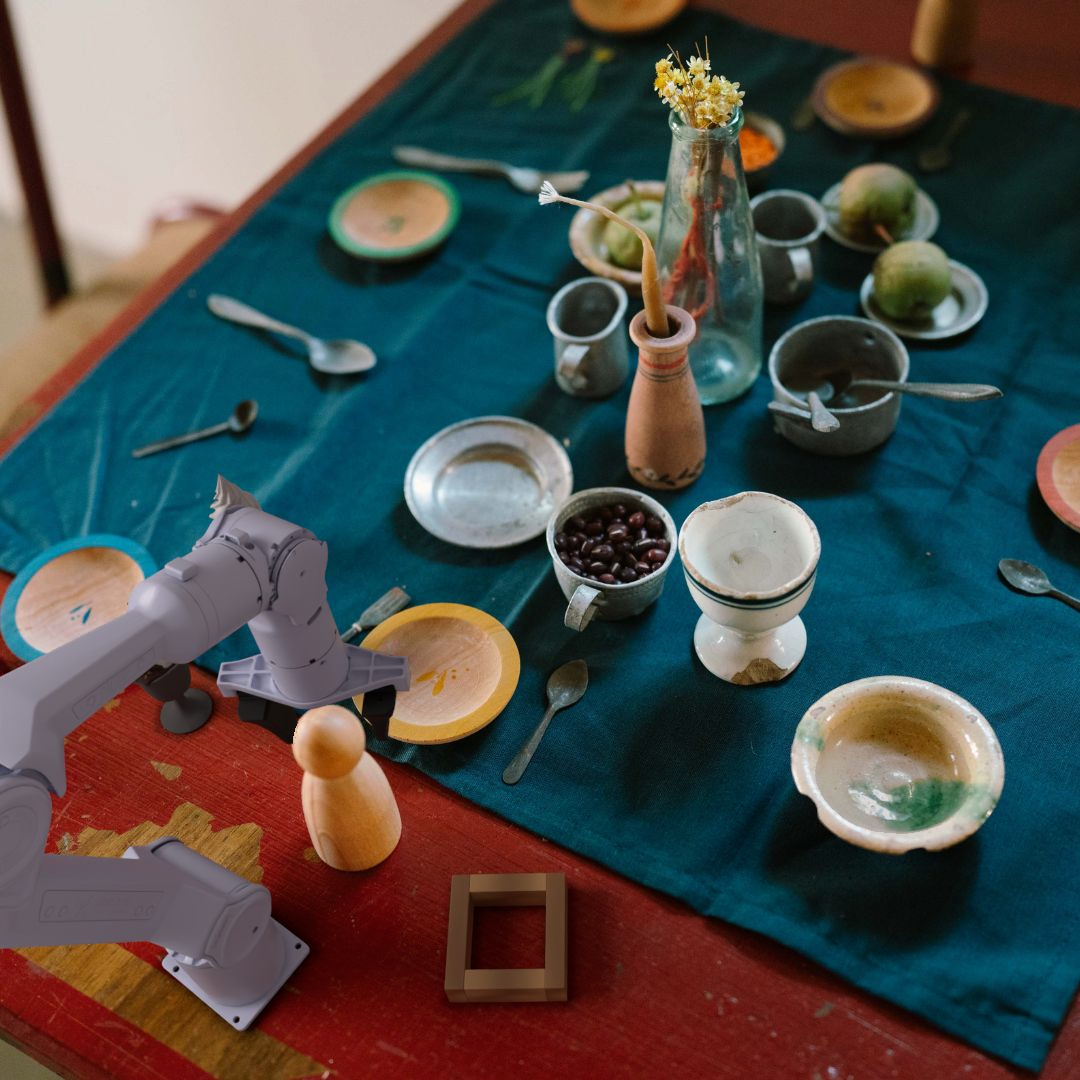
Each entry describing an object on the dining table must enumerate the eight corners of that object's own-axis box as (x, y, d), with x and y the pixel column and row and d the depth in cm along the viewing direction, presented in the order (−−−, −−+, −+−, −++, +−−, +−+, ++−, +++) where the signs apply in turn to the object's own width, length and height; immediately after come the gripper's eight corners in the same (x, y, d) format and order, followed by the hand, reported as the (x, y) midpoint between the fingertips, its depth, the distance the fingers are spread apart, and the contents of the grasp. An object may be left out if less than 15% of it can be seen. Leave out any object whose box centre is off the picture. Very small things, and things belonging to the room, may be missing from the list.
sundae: (190, 669, 114) (137, 575, 102) (235, 705, 110) (185, 611, 99) (137, 717, 111) (75, 624, 99) (181, 754, 108) (123, 663, 96)
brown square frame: (449, 1002, 91) (444, 989, 89) (457, 889, 97) (451, 874, 95) (567, 1001, 90) (564, 988, 88) (567, 887, 96) (565, 872, 94)
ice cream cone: (274, 594, 119) (232, 496, 107) (228, 588, 120) (182, 490, 108) (290, 556, 122) (252, 456, 110) (246, 551, 123) (202, 452, 111)
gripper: (401, 589, 87) (429, 687, 97) (211, 596, 88) (259, 693, 99) (391, 668, 83) (422, 762, 93) (192, 674, 84) (244, 767, 94)
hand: (338, 732), depth 95 cm, fingers open, 7 cm apart
